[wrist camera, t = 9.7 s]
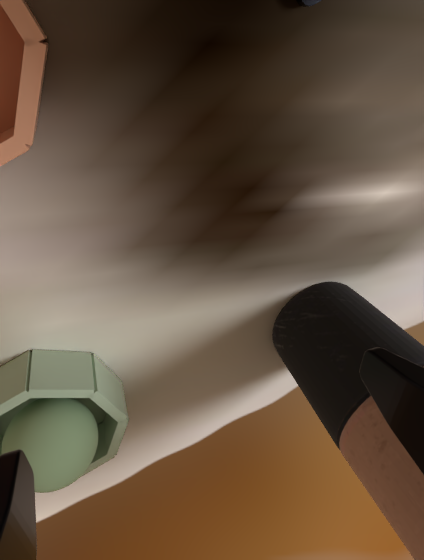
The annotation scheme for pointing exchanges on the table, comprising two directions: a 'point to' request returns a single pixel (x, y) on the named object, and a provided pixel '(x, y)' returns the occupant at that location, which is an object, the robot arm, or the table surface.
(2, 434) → the green cup
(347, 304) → the travel mug
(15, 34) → the terracotta cup
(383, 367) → the robot arm
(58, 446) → the ball
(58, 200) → the table surface
